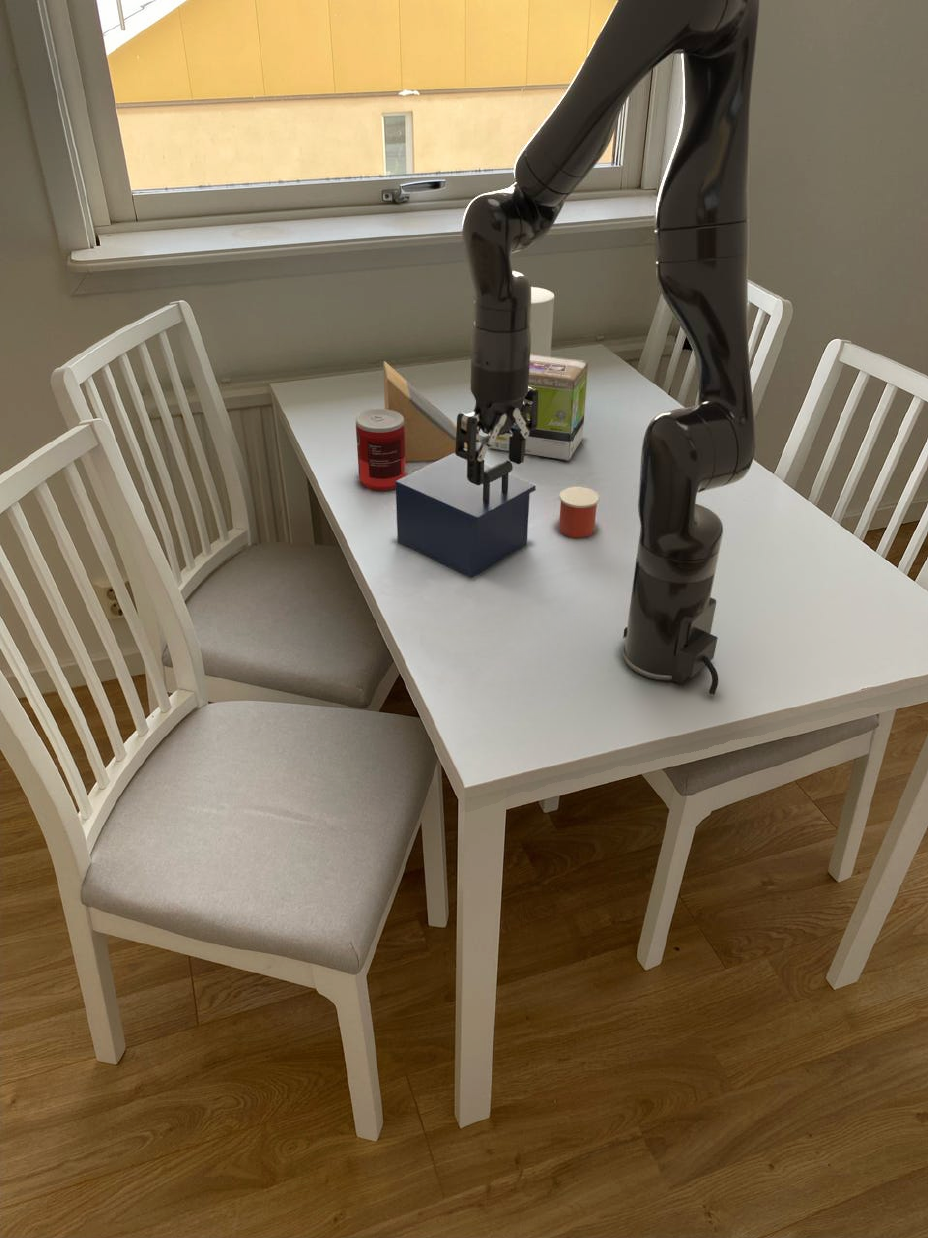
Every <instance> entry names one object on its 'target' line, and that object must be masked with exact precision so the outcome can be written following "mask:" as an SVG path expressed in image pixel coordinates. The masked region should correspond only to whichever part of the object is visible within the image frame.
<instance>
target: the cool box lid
mask: <svg viewBox="0 0 928 1238" xmlns="http://www.w3.org/2000/svg"><path fill="white" fill-rule="evenodd" d="M512 471H513V462H511V461H510V460H509V459H504V460H502V461H500V462H498V463H495V464H494V465H492V466H489V465H486V464H484V483H483V484H481V485H479V486H478V485H476V484H473V483H471V482H470V481H469V480H468V478H467V460H466V459H463V458H461V457H459V456H456V454H455V453H453V454H451V455H448V456H446V457H444V458H442V459H440V460H435V461H434V462H432V463H430V464H427V465H426V466H424V467H422V468H420V469H418V470H415V471H414V472H411V473H409V474H406V476H405V477H403V478H401V479H399V480H397V481H395V483H396V486H397V487H399V488H401V489H404V490H406V491H408V492H410V493H412V494H415V495H417V496H419V497H421V498H424V499H426V500H428V501H430V502H432V503H435V504H437V505H439V506H441V507H444V508H446V509H448V510H450V511H453V512H455V513H457V514H459V515H461V516H464V517H466V518H468V519H470V520H473V521H475V522H477V523H478V522H480V521H482V520H483V519H485V518H487V517H489V516H491V515H492V514H494V513H496V512H498V511H499V510H501V509H503V508H505V507H507V506H508V505H510V504H512V503H514V502H515V501H517V500H519V499H521V498H523V497H524V496H526V495H528V494H531V493H534V492H535V491H536V488H537V486H536V485H535V484H533V483H531V482H528V481H526V480H524V479H521V478H519V477H516V476H513V475H512V474H510V473H511V472H512Z"/></svg>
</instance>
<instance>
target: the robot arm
mask: <svg viewBox="0 0 928 1238" xmlns="http://www.w3.org/2000/svg"><path fill="white" fill-rule="evenodd" d="M760 7H761V0H617V1H616V2H615V4H614V6H613V8H612V10H611V11H610V14H609V16H608V17H607V20H606V21H605V23H604V25H603V27H602V29H600V30H601V31H600V32H599V34H598V36H597V38H596V39H595V41H594V42H593V45H592V47H591V48H590V50H589V52H588V54H587V56H586V57H585V59H584V61H583V63H582V65H581V66H580V68H579V70H578V71H577V73H576V75H575V77H574V78H573V80H572V82H571V83H570V85H569V87H568V88H567V90H566V92H565V93H564V94H563V96H562V97H561V99H560V100H559V102H558V104H556V105H555V107H554V108H553V109H552V111H551V113H550V114H549V115H548V116H547V118H546V119H544V121H543V123H542V124H541V126H539V128H538V129H537V131H535V133H534V134H533V136H532V137H531V138H530V140H529V141H528V142H527V144H526V145H525V146H524V147H523V149H522V150H521V151H520V152H519V153H520V154H519V155H518V156H517V159H516V160H515V164H514V167H513V175H514V180H515V183H514V184H512V185H511V186H510V187H508V188H504V189H500V190H495V191H492V192H487V193H483V194H480V195H478V196H476V197H475V198H474V199H472V200H471V201H470V203H469V204H468V206H467V207H466V209H465V212H464V215H463V219H462V225H461V237H462V243H463V248H464V252H465V256H466V261H467V265H468V270H469V275H470V278H471V282H472V286H473V291H474V297H473V328H472V333H471V341H470V342H471V344H470V345H471V346H470V347H471V348H470V393H471V394H472V395H473V398H474V399H475V405H474V409H473V411H472V412H470V413H464V412H459V413H458V414H457V416H456V425H457V430H456V450H455V454H456V456H459V457H461V458H463V459H466V460H467V478H468V480H469V481H470V482H471V483H473V484H476V485H478V486H479V485H481V484H483V483H484V465H485V459H484V458H485V456H486V454H487V452H488V449H490V448H489V447H490V446H492V445H493V444H494V442H495V439H496V437H497V436H499V435H501V434H502V433H503V432H508V431H510V432H511V433H512V434H513V435H511V436H510V437H509V451H508V460H509V461H510V462H511V463H512V464H515V465H521V464H524V462H525V456H526V454H525V445H526V438H527V437H528V436H529V432H530V431H531V430H536V428H537V426H538V390H536V389H533V388H531V387H529V369H530V350H531V336H530V313H531V287H532V284H531V281H530V279H529V277H528V276H527V275H525V274H523V273H522V272H519V271H516V270H513V269H512V263H511V254H514V253H517V252H518V253H519V252H522V251H524V250H525V251H526V250H527V249H530V248H531V247H533V246H535V245H537V244H538V243H539V242H540V241H542V239H543V238H544V237H545V236H547V234H548V233H549V232H550V230H551V229H552V227H553V226H554V224H555V222H556V221H557V218H558V217H559V215H560V213H561V211H562V209H563V207H564V205H565V202H566V201H567V198H568V197H569V196H570V195H571V194H572V193H573V192H574V191H575V190H576V189H577V187H578V186H579V185H580V184H581V183H582V181H583V180H585V178H586V177H587V176H588V175H589V174H590V172H591V171H592V170H593V169H594V167H595V166H597V164H598V163H599V161H600V160H601V159H602V157H603V156H604V154H605V152H606V151H607V149H608V147H609V145H610V143H611V141H612V138H613V137H614V133H615V130H616V127H617V124H618V121H619V118H620V115H621V112H622V109H623V107H624V105H625V103H626V101H627V100H628V98H629V97H630V95H631V94H632V93H633V91H634V90H635V88H636V87H637V86H638V85H639V84H640V82H641V81H642V80H643V79H644V78H645V77H646V76H647V75H648V74H649V73H651V71H653V69H655V68H656V67H657V66H659V64H661V63H662V62H663V61H664V60H665V59H666V58H668V57H669V56H670V55H671V54H672V55H681V61H682V62H681V63H682V95H683V96H682V97H683V98H682V99H683V100H682V115H681V121H680V125H679V126H680V127H679V131H678V135H677V137H676V141H675V144H674V147H673V150H672V152H671V156H670V157H669V161H668V164H667V167H666V169H665V172H664V175H663V177H662V181H661V184H660V186H659V190H658V194H657V198H656V202H655V209H654V221H653V223H654V225H653V227H654V231H653V232H654V259H655V260H654V262H655V263H654V266H655V267H654V268H655V277H656V283H657V286H658V288H659V291H660V293H661V295H662V298H663V299H664V302H665V303H666V305H667V307H668V308H669V311H670V312H671V313H672V315H673V317H674V319H675V321H676V322H677V323H678V325H679V327H680V328H681V330H682V332H683V333H684V335H685V337H686V339H687V341H688V342H689V345H690V347H691V349H692V352H693V355H694V359H695V365H696V371H697V385H698V396H697V397H698V399H697V404H695V405H691V406H685V407H681V408H676V409H673V410H668V411H664V412H661V413H659V414H657V415H656V416H654V417H653V418H652V419H651V421H650V422H649V424H648V425H647V428H646V429H645V433H644V436H643V439H642V440H643V441H642V446H641V455H640V469H639V484H638V497H637V510H638V511H637V512H638V518H639V524H640V525H639V526H640V529H639V537H638V538H639V539H638V545H637V552H636V559H635V565H634V566H635V567H634V574H633V579H632V580H633V581H632V588H631V595H630V596H631V597H630V604H629V610H628V619H627V625H626V627H625V628H623V635H622V636H623V637H622V640H624V645H623V651H622V657H623V659H624V660H623V661H624V662H625V663H626V665H627V666H628V667H629V668H630V669H631V670H632V671H634V672H635V673H637V674H639V675H640V676H643V677H645V678H647V679H648V678H649V679H652V680H656V681H665V682H668V681H670V682H673V683H675V684H678V685H681V684H682V683H683V682H685V681H686V680H687V679H688V678H689V679H692V678H693V677H694V676H696V675H697V674H698V673H699V672H700V671H701V670H702V669H703V668H704V667H705V666H706V668H707V669H708V671H709V673H710V675H711V685H710V686H709V691H708V693H709V694H710V695H715V694H716V691H717V690H718V685H719V674H718V671H717V669H716V667H715V666H714V664H713V663H712V660H713V659H715V658H714V657H715V653H716V649H717V648H716V647H717V643H718V638H719V637H718V636H716V635H713V634H712V633H711V632H712V629H713V628H712V627H713V622H714V617H715V612H716V607H717V600H716V598H714V597H712V591H713V587H714V581H715V577H716V572H717V566H718V561H719V555H720V550H721V546H722V541H723V535H724V524H723V522H722V520H721V518H720V517H719V515H717V514H716V513H715V512H713V511H712V510H711V509H710V508H707V507H705V506H704V505H701V504H699V503H696V502H697V497H698V496H697V495H698V493H702V492H706V491H710V490H713V489H717V488H721V487H725V486H729V485H733V484H735V483H737V482H739V481H741V480H742V479H743V478H745V477H746V475H747V474H748V472H750V469H751V468H752V465H753V462H754V457H755V451H756V419H755V409H754V407H755V406H754V398H753V397H754V396H753V387H752V375H751V374H752V373H751V364H750V351H749V350H750V348H749V306H748V305H749V300H748V299H749V297H748V296H749V295H748V293H749V292H748V291H749V290H748V289H749V287H748V285H749V262H750V261H749V260H750V258H749V257H750V200H749V199H750V197H749V196H750V195H749V194H750V193H749V191H750V189H749V186H750V185H749V183H750V181H749V180H750V143H751V142H750V141H751V140H750V139H751V137H750V135H751V102H752V87H753V78H754V71H755V60H756V50H757V42H758V30H759V21H760V10H761V9H760ZM527 413H528V414H529V415H530V420H529V419H527ZM481 431H482V432H483V433H484V434H486V436H483V435H481V434H480V432H481ZM464 443H466V444H467V447H466V448H464ZM478 443H480V446H479V447H478V450H477V445H478Z"/></svg>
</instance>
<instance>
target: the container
mask: <svg viewBox="0 0 928 1238" xmlns="http://www.w3.org/2000/svg"><path fill="white" fill-rule="evenodd" d="M554 306H555V294H554V292H552V291H551V290H548V289H545V288H542V287H536V286H531V313H530V336H531V350H530V354H533V355H542V356H550V357H552V355H551V354H552V342H553V341H552V340H553V325H554V324H553V323H554V308H555V307H554Z"/></svg>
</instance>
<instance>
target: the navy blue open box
mask: <svg viewBox="0 0 928 1238" xmlns="http://www.w3.org/2000/svg"><path fill="white" fill-rule="evenodd" d="M530 494H531V493H530ZM530 494H528V495H526V496H524V497H523V498H521V499H519V500H517V501H515V502H514V503H512V504H510V505H508V506H507V507H505V508H503V509H501V510H499V511H498V512H496V513H494V514H492V515H491V516H489V517H487V518H485V519H483V520H482V521H480V522H478V523H477V522H475V521H473V520H470V519H468V518H466V517H464V516H461V515H459V514H457V513H455V512H453V511H450V510H448V509H446V508H444V507H441V506H439V505H437V504H435V503H432V502H430V501H428V500H426V499H424V498H421V497H419V496H417V495H415V494H412V493H410V492H408V491H406V490H404V489H401V488H399V487H397V486H396V489H395V506H396V534H397V536H396V537H397V543H399V544H400V545H403V546H405V547H407V548H408V549H411V550H413V551H415V552H417V553H419V554H421V555H424V556H425V557H427V558H429V559H431V560H433V561H435V562H437V563H439V564H442V565H444V566H446V567H447V568H449V569H452V570H453V571H455V572H458V573H460V574H462V575H463V576H466V577H467V578H470V579H472V578H474V577H476V576H477V575H479V574H480V573H482V572H484V571H485V570H487V569H488V568H491V567H492V566H493V565H495V564H497V563H498V562H500V561H501V560H504V559H505V558H506V557H508V556H510V555H511V554H513V553H514V552H517V551H518V550H520V549H521V548H522V547H524V546H526V545H527V544H528V533H529V531H528V530H529V512H530Z"/></svg>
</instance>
